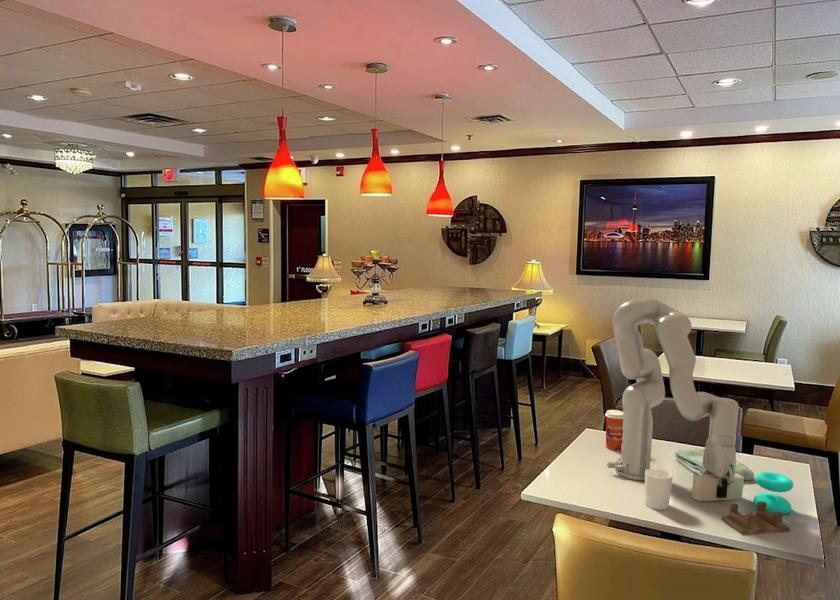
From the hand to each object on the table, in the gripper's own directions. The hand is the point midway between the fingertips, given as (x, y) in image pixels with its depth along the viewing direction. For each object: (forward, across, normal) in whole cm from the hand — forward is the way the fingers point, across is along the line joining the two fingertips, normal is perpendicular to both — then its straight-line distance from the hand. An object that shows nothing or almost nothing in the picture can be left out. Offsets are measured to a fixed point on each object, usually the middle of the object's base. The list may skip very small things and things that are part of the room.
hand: (717, 494), depth 198 cm
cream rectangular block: (+1, 0, 0) cm, 1 cm away
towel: (+2, -22, +13) cm, 26 cm away
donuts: (+1, +9, +12) cm, 15 cm away
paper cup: (+2, -47, -11) cm, 48 cm away
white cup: (+2, +2, -22) cm, 22 cm away
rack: (+1, +18, -1) cm, 18 cm away
